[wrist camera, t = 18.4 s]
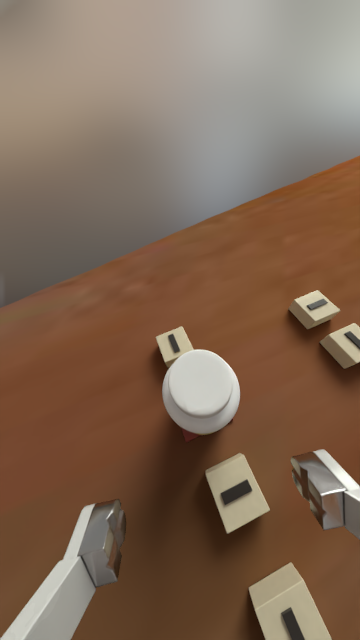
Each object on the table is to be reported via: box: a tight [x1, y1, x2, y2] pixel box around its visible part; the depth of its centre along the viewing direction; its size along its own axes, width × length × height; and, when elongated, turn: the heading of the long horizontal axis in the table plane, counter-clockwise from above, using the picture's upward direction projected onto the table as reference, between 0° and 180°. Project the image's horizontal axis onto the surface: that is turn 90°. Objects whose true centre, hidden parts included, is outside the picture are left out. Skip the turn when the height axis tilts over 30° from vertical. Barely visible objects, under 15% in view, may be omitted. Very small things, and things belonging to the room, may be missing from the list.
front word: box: [156, 327, 332, 640], centre depth 17 cm, size 25×5×2 cm, turn 21°
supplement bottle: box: [162, 350, 240, 435], centre depth 15 cm, size 6×6×10 cm
